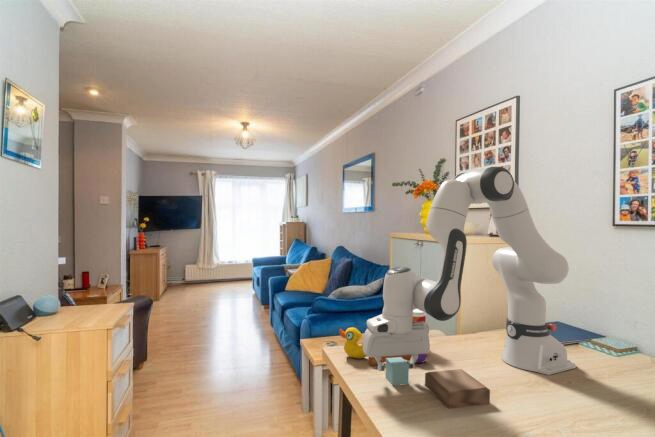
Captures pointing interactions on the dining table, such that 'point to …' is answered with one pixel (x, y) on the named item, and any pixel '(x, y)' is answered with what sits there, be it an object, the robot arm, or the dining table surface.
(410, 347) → the robot arm
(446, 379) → the walnut base
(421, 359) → the kendama
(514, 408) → the dining table surface
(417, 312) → the paper cup
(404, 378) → the teal block
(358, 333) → the duckling
